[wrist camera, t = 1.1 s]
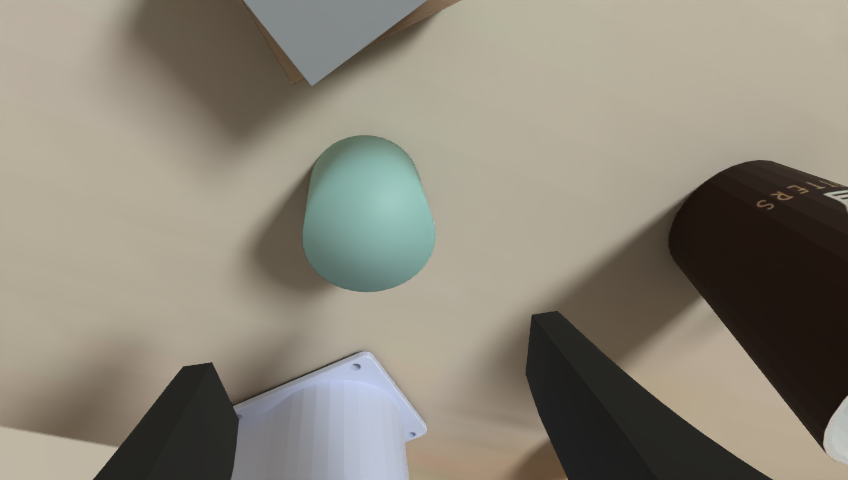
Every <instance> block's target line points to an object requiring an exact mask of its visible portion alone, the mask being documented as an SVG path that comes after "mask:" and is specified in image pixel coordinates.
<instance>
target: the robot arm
mask: <svg viewBox="0 0 848 480" xmlns="http://www.w3.org/2000/svg"><path fill="white" fill-rule="evenodd" d="M353 364H357V365H353ZM526 376H527V380H528V383H529V386H530V389H531V392H532V395H533V398H534V401H535V404H536V407H537V410H538V413H539V416H540V418H541V420H542V423H543V425H544V427H545V429H546V432H547V434H548V436H549V438H550V440H551V443H552V445H553V447H554V449H555V451H556V454H557V456H558V458H559V460H560V462H561V464H562V467H563V469H564V471H565V473H566V475H567V477H568V480H773V479H771V478H769V477H768V476H766V475H764V474H763V473H761V472H759V471H758V470H756V469H755V468H753V467H752V466H750V465H749V464H747V463H745V462H744V461H742V460H741V459H739V458H738V457H736V456H735V455H733V454H732V453H730V452H729V451H727V450H726V449H725V448H723V447H722V446H720V445H719V444H717V443H716V442H714V441H713V440H712V439H710V438H709V437H707V436H706V435H704V434H703V433H702V432H700V431H699V430H697V429H696V428H695V427H693V426H692V425H691V424H689V423H688V422H687V421H685V420H684V419H683V418H681V417H680V416H679V415H677V414H676V413H675V412H673V411H672V410H671V409H670V408H668V407H667V406H666V405H664V404H663V403H662V402H661V401H659V400H658V399H657V398H656V397H654V396H653V395H652V394H651V393H649V392H648V391H647V390H646V389H644V388H643V387H642V386H641V385H640V384H638V383H637V382H636V381H635V380H634V379H633V378H631V377H630V376H629V375H628V374H627V373H626V372H624V371H623V370H622V369H621V368H620V367H619V366H617V365H616V364H615V363H614V362H613V361H612V360H610V359H609V358H608V357H607V356H606V355H605V354H604V353H603V352H602V351H600V350H599V349H598V348H597V347H596V346H595V345H594V344H593V343H592V342H591V341H589V340H588V339H587V338H586V337H585V336H584V335H583V334H582V333H581V332H580V331H579V330H578V329H576V328H575V327H574V326H573V325H572V324H571V323H570V322H569V321H568V320H567V319H566V318H565V317H564V316H562V315H561V314H560V313H559V312H558V311H554V312H547V313H541V314H534V315H532V318H531V328H530V337H529V347H528V356H527V365H526ZM426 432H427V427H426V424H425V422H424V421H423V420H422V418H421V417H420V416H419V415H418V413H417V412H416V411H415V409H414V408H413V407H412V405H411V404H410V403H409V401H408V400H407V399H406V397H405V396H404V395H403V394H402V392H401V391H400V390H399V388H398V387H397V386H396V384H395V383H394V382H393V380H392V379H391V378H390V377H389V375H388V374H387V373H386V371H385V370H384V369H383V367H382V366H381V365H380V363H379V362H378V361H377V360H376V358H375V357H374V356H373V354H371V353H370V352H360V353H357V354H355V355H353V356H350V357H348V358H345V359H343V360H341V361H338V362H336V363H334V364H331V365H329V366H327V367H324V368H322V369H319V370H317V371H315V372H312V373H310V374H308V375H305V376H303V377H301V378H298V379H296V380H294V381H291V382H289V383H286V384H284V385H282V386H279V387H277V388H275V389H272V390H270V391H268V392H265V393H263V394H260V395H258V396H256V397H253V398H251V399H249V400H246V401H244V402H242V403H239V404H237V405H235V406H232V404H231V401H230V399H229V397H228V395H227V393H226V391H225V389H224V387H223V385H222V382H221V380H220V378H219V376H218V374H217V372H216V370H215V368H214V366H213V363H212V362H211V363H204V364H198V365H191V366H184V367H182V369H181V370H180V371H179V372H178V374H177V375H176V376H175V377H174V379H173V380H172V381H171V382H170V384H169V385H168V386H167V387H166V389H165V390H164V391H163V393H162V394H161V395H160V396H159V398H158V399H157V400H156V402H155V403H154V404H153V405H152V407H151V408H150V409H149V411H148V412H147V413H146V414H145V416H144V417H143V418H142V420H141V421H140V422H139V423H138V425H137V426H136V427H135V429H134V430H133V431H132V432H131V434H130V435H129V436H128V437H127V439H126V440H125V441H124V442H123V443H122V445H121V446H120V447H119V448H118V450H117V451H116V452H115V453H114V455H113V456H112V457H111V458H110V460H109V461H108V462H107V463H106V465H105V466H104V467H103V468H102V469H101V471H100V472H99V473H98V474H97V476H96V477H95V478H94V479H93V480H409V473H408V465H407V457H406V449H405V442H407V441H410V440H412V439H415V438H417V437H420V436H422V435H424V434H425V433H426Z"/></svg>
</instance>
